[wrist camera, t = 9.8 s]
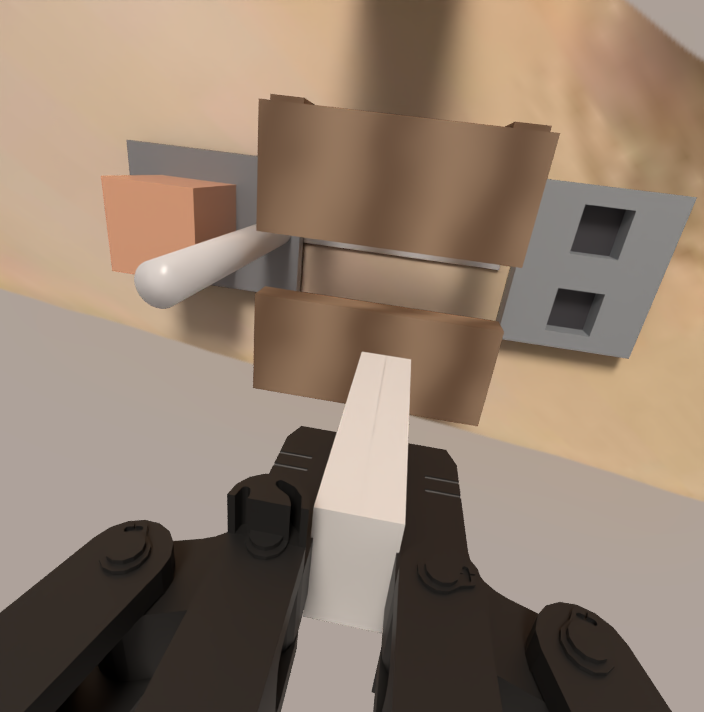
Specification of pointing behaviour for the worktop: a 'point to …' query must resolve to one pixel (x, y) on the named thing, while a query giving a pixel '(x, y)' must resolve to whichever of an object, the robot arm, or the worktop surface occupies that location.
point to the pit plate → (592, 267)
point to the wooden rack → (391, 242)
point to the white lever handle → (193, 225)
